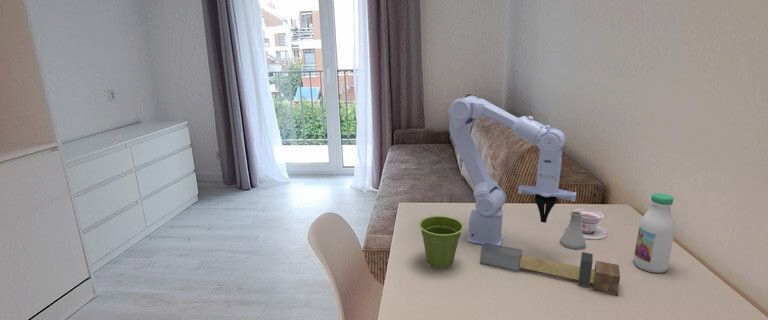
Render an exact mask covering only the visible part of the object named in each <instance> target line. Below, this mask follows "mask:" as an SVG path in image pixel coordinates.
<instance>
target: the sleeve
mask: <svg viewBox="0 0 768 320" xmlns="http://www.w3.org/2000/svg"><path fill="white" fill-rule="evenodd" d="M522 254H523V249H519V248H515V247H509V246H506V245H505V246H504V245H495V244H490V243H484V245H483V244H482V247H481V248H480V260H479V264H480V265H482V266H487V267H491V268H497V269H499V270H500V269H501V270H505V271H511V272H513V273H519V272H520V269H521V268H520V267H519V263H520V256H521V255H522Z"/></svg>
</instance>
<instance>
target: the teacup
mask: <svg viewBox="0 0 768 320" xmlns="http://www.w3.org/2000/svg"><path fill="white" fill-rule="evenodd" d="M573 211H578V212H581V213H582V216H581V219H580V222H581V229H582V233H583V236H584V240H593V241H594V240H603V239H606V238H607V237H608V232H607V231H606V229H604V228H603V227H601V226H598V223H599V221H600V220H602V219H603V218H604V217H605V215H604V214H603V213H602V212H599V211H597V210H593V209H587V208H576V209H574V210H573ZM568 225H569V223H567V224H566V225H565V230H566V229H567V227H568ZM592 233H593V234H592Z"/></svg>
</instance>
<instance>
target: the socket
mask: <svg viewBox="0 0 768 320" xmlns="http://www.w3.org/2000/svg"><path fill="white" fill-rule="evenodd" d="M594 264H595V265H594V270H595V281H594V283H593V284H592V285H593V286H592V287H593V289H592V290H593V291H594V292H599V293H602V294H606V295H612V296H616V297H617V296H618V293H619V287H620V280H621V273H620V272H621V271H620V266H619V264H617V263H611V262H605V261H600V260H595V263H594Z"/></svg>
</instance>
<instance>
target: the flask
mask: <svg viewBox="0 0 768 320" xmlns="http://www.w3.org/2000/svg"><path fill="white" fill-rule="evenodd" d="M569 215H570V220H569V223H568V224H569V225H568V227H567V229H565V231H564V232H563V234H562V236H561V238H560V240H559V244H560V245H562V246H563V247H564V248H569V249H574V250H580V249H582V250H583V249H586V239H584V236H583V234H584V233H583V232H582V229H581V222H580V219H581V216H582V213H581V212H578V211H574V210H570V213H569Z"/></svg>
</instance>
